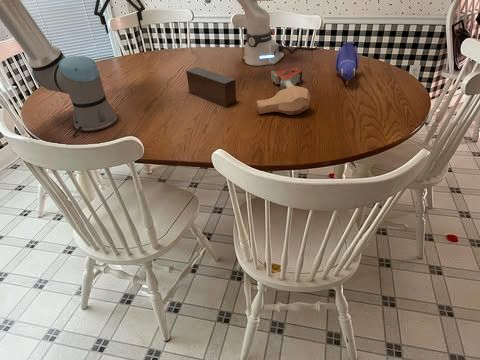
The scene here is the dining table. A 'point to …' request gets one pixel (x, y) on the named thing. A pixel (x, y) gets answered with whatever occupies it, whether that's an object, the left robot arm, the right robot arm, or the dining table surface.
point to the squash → (286, 101)
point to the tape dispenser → (287, 77)
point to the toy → (347, 61)
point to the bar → (212, 86)
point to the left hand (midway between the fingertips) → (124, 31)
